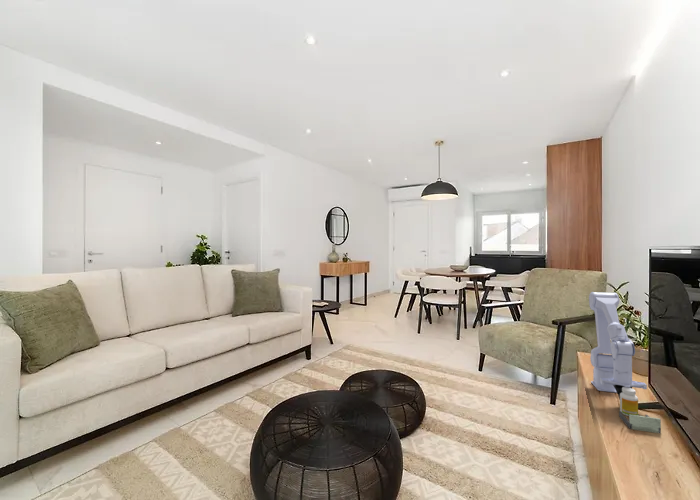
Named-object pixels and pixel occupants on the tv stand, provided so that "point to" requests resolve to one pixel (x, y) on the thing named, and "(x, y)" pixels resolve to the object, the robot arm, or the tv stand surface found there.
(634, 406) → the supplement bottle
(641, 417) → the seating bay
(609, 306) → the robot arm
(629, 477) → the tv stand surface
